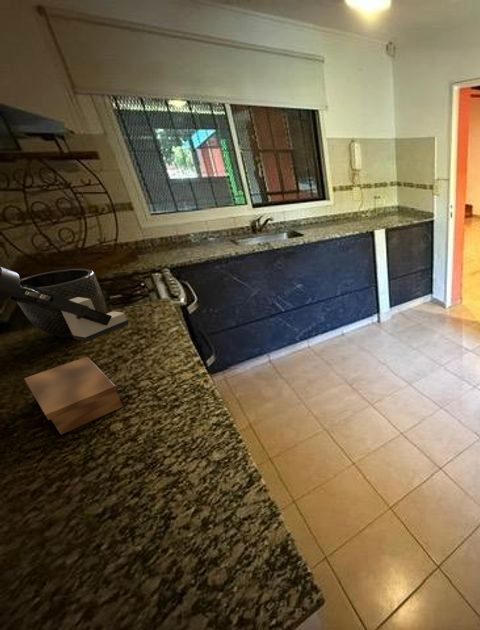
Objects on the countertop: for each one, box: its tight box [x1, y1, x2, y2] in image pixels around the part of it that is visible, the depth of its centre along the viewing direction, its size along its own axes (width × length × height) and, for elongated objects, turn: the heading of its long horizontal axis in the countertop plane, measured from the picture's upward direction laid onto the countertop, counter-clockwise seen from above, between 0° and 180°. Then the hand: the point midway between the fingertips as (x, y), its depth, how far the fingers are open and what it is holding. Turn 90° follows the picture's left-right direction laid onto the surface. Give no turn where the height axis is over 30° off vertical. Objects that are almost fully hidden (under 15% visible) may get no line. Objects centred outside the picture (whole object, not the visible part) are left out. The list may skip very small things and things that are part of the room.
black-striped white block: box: [61, 297, 130, 342], centre depth 89 cm, size 10×5×10 cm, turn 164°
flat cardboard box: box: [23, 356, 124, 435], centre depth 83 cm, size 12×22×6 cm, turn 54°
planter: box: [16, 268, 107, 339], centre depth 114 cm, size 20×20×19 cm
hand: (101, 319), depth 91 cm, fingers closed on black-striped white block, 4 cm apart
